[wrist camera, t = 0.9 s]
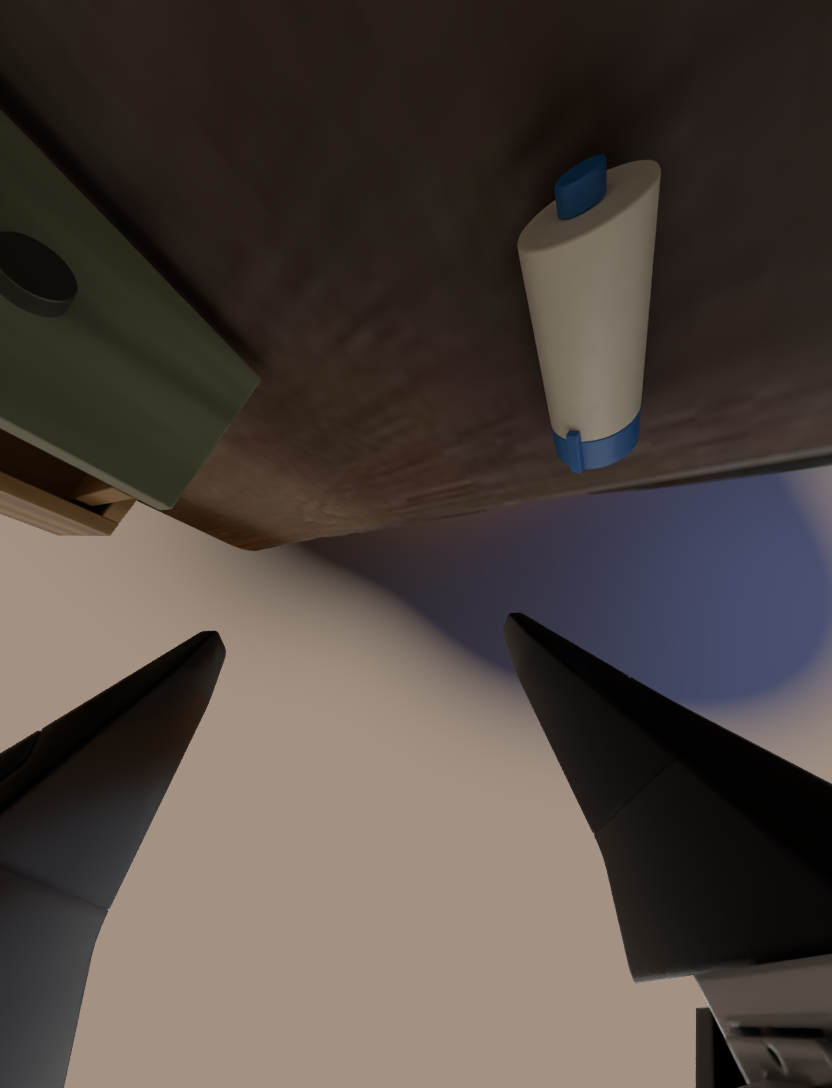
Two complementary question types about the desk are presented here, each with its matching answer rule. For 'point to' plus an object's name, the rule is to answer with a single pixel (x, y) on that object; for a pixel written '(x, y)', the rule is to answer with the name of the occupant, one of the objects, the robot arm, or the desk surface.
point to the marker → (593, 304)
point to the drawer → (98, 350)
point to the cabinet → (58, 510)
